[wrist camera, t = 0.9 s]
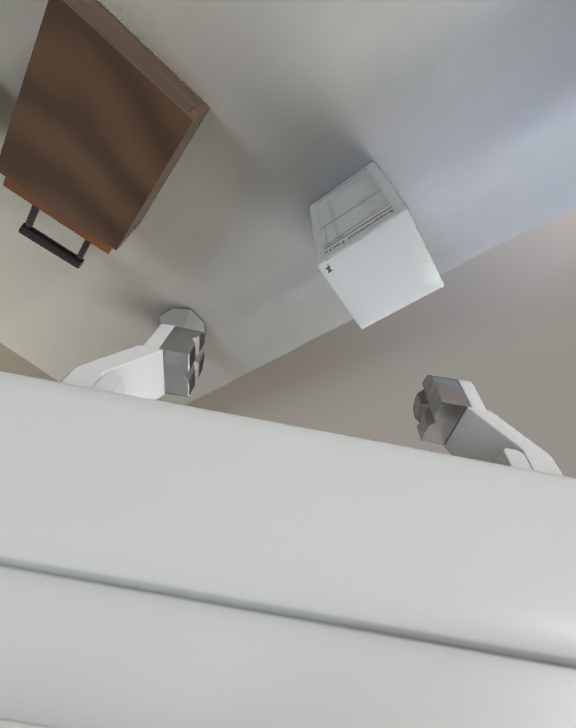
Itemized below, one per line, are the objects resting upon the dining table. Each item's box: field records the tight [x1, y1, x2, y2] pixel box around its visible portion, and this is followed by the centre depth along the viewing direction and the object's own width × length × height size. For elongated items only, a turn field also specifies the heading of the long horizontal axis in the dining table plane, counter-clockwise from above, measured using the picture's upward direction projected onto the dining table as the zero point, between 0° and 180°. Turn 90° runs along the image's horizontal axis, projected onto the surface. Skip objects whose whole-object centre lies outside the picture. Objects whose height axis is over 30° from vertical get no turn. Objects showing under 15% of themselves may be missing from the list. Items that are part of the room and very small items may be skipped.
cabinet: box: [0, 0, 210, 250], centre depth 38 cm, size 17×13×9 cm
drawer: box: [3, 177, 113, 269], centre depth 41 cm, size 21×11×7 cm, turn 139°
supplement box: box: [309, 161, 444, 329], centre depth 41 cm, size 10×9×17 cm
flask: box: [159, 308, 205, 334], centre depth 55 cm, size 7×7×10 cm
